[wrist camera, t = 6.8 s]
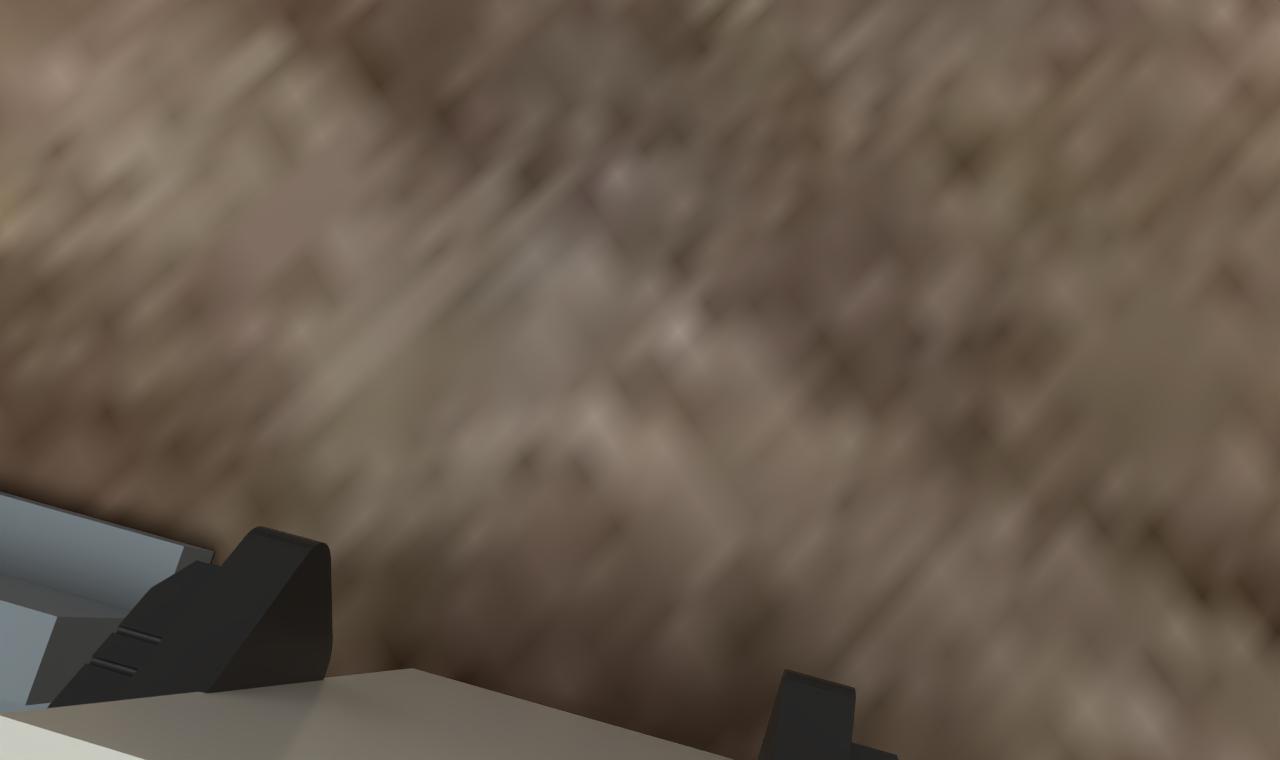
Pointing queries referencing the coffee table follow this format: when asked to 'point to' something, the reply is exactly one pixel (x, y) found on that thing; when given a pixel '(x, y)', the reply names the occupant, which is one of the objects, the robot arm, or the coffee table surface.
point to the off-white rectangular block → (329, 726)
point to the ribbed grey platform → (68, 592)
